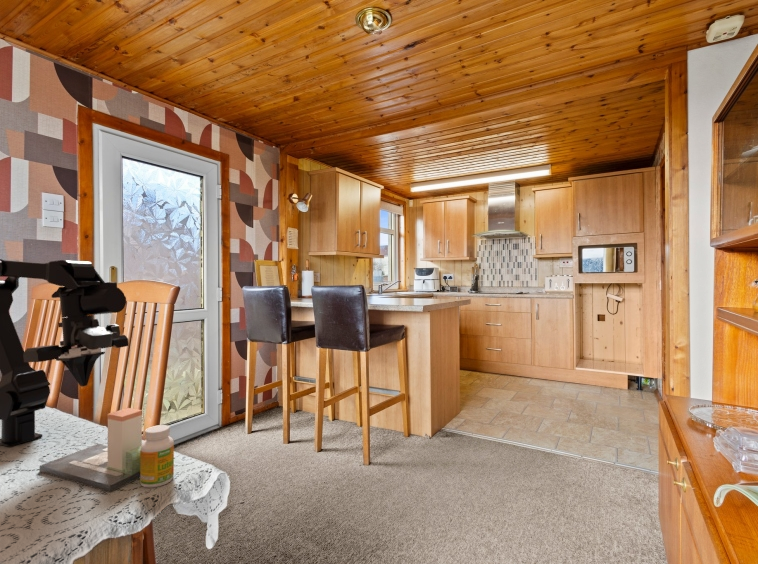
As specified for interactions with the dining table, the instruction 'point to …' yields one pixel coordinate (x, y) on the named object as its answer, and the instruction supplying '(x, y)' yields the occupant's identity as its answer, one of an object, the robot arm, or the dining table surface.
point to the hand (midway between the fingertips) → (83, 386)
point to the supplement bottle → (157, 457)
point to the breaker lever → (123, 435)
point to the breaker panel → (95, 468)
